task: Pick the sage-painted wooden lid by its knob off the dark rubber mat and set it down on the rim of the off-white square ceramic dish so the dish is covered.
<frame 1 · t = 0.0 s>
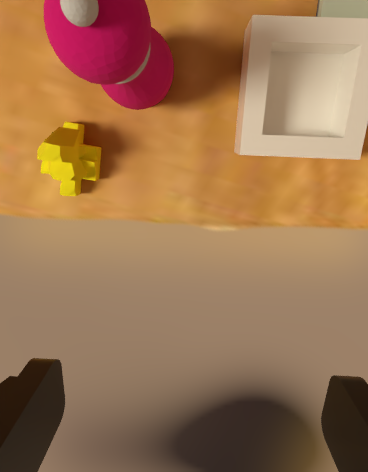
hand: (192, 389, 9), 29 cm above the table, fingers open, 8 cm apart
yellow lumpy cluster: (76, 159, 36), on the table
pepper mill: (143, 76, 33), on the table
dish: (294, 97, 33), on the table
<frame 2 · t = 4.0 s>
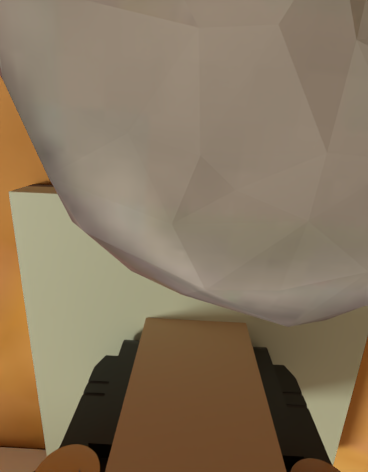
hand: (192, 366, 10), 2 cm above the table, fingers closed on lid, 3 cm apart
lid: (193, 342, 11), resting on mat, touching gripper
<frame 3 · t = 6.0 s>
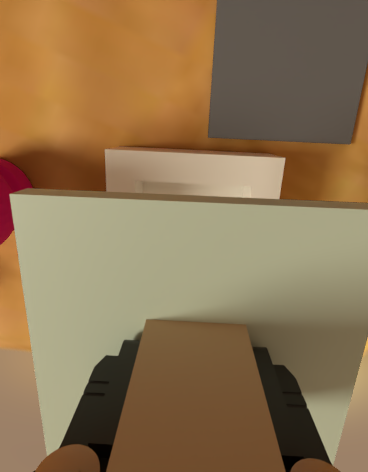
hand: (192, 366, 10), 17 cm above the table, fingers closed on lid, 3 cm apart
mat: (288, 62, 22), on the table
lid: (193, 343, 11), point 16 cm above the table, touching gripper
pepper mill: (1, 194, 26), on the table
dish: (190, 221, 26), on the table
when the fingers open (7 cm above the table, at t = 8.1 s): lid drops 2 cm, resting on dish.
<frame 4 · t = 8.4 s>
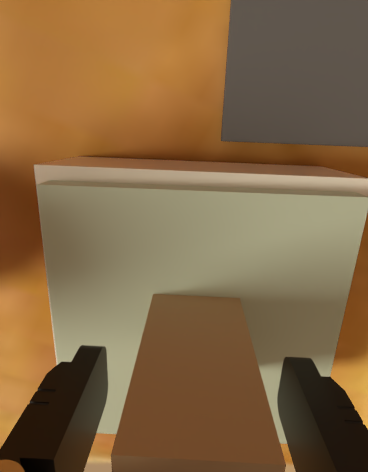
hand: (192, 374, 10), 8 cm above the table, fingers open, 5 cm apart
mat: (360, 10, 13), on the table
lid: (194, 317, 13), point 4 cm above the table, touching dish
dish: (193, 271, 17), on the table
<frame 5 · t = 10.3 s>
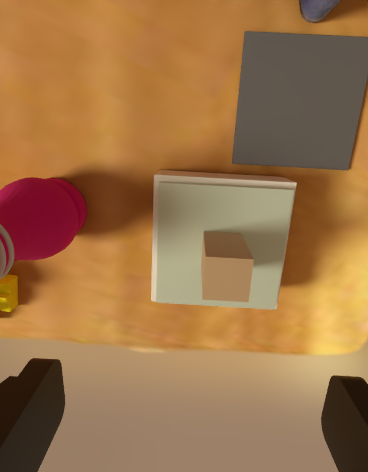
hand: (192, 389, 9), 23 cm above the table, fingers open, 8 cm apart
mat: (298, 105, 28), on the table
lid: (219, 246, 27), point 4 cm above the table, touching dish
pepper mill: (58, 207, 32), on the table
dish: (215, 231, 32), on the table
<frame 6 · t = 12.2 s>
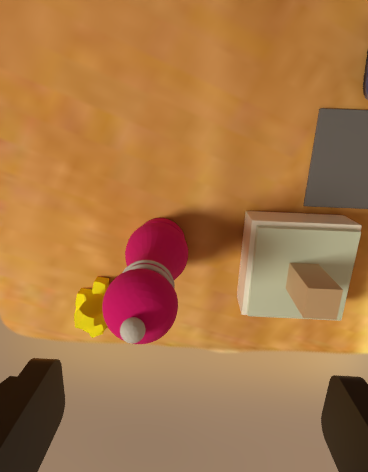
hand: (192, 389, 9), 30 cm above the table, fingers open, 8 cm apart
mat: (358, 161, 36), on the table
yellow lumpy cluster: (102, 301, 43), on the table
lid: (298, 272, 36), point 4 cm above the table, touching dish
pepper mill: (161, 240, 40), on the table
dish: (287, 257, 40), on the table
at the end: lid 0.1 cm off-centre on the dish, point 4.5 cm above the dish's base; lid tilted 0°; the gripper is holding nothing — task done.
